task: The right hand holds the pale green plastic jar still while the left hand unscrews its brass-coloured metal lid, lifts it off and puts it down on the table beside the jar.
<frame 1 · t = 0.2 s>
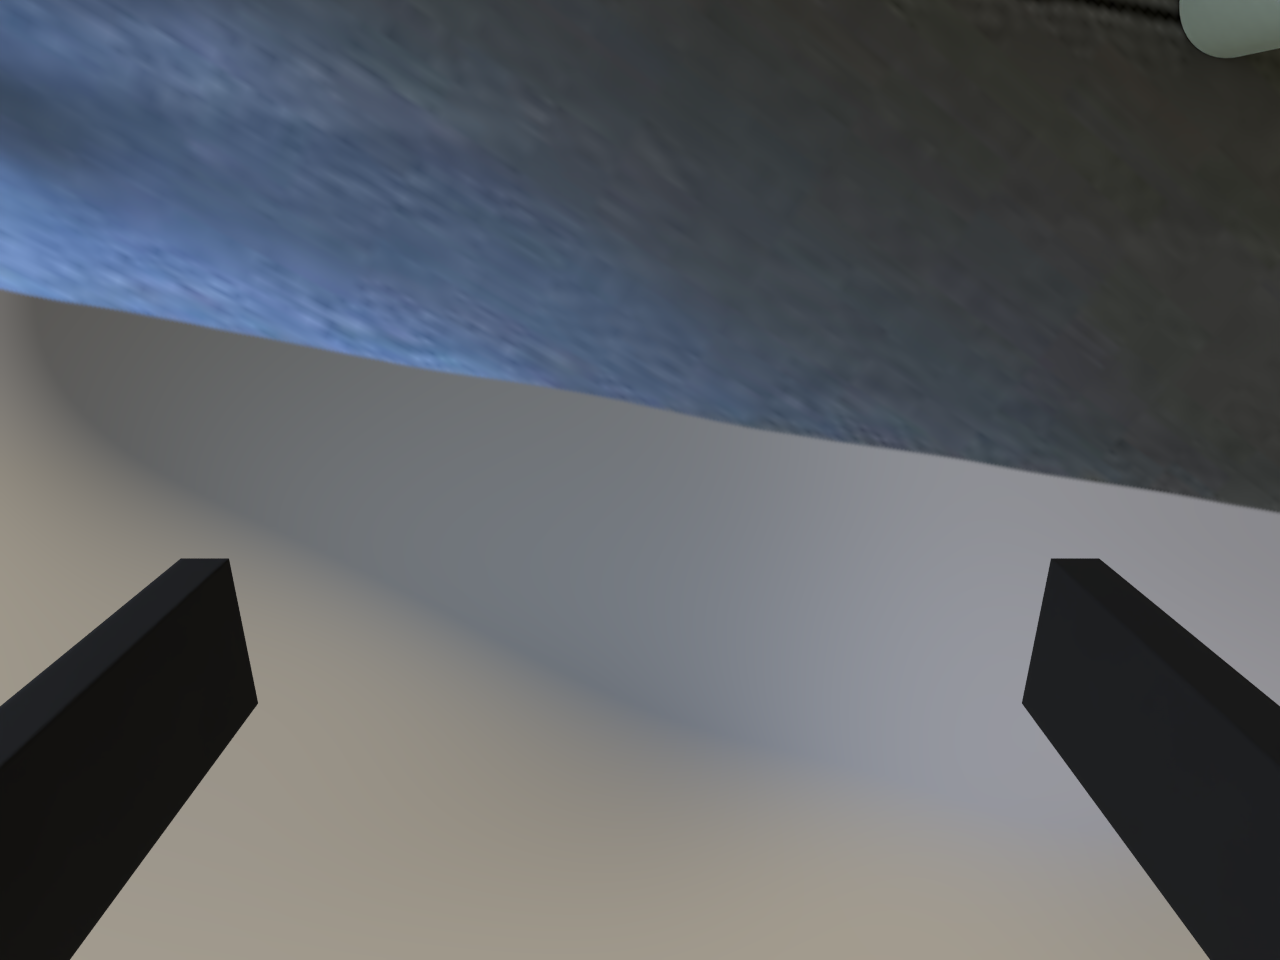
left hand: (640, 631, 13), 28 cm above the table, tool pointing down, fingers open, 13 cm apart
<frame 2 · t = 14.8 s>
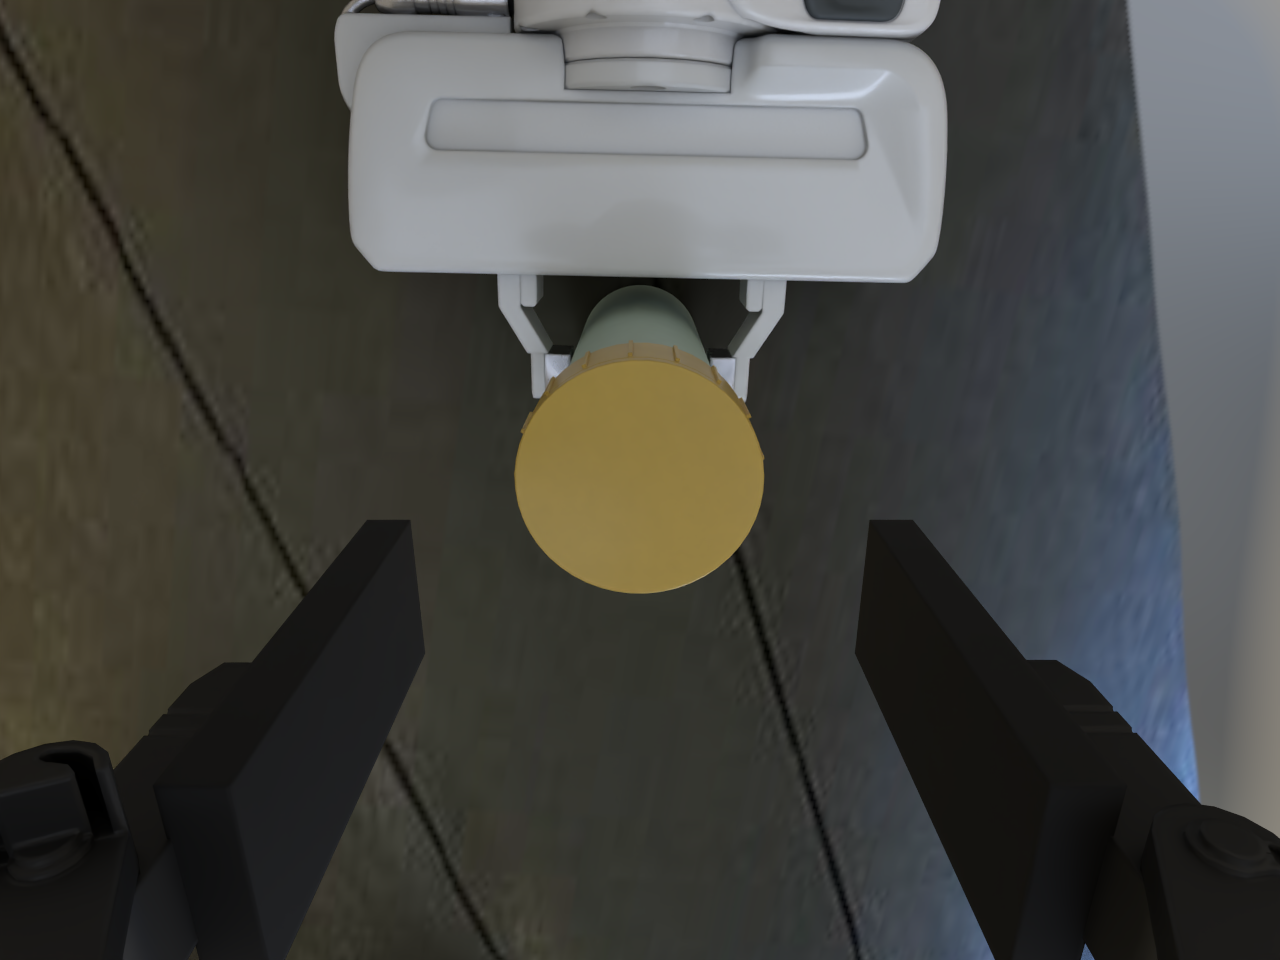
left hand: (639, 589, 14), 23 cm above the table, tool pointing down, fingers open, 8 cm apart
right hand: (640, 397, 31), fingers closed on jar, 5 cm apart
lid: (639, 478, 20), point 18 cm above the table, screwed on, not yet turned
jar: (639, 343, 36), on the table, touching right hand
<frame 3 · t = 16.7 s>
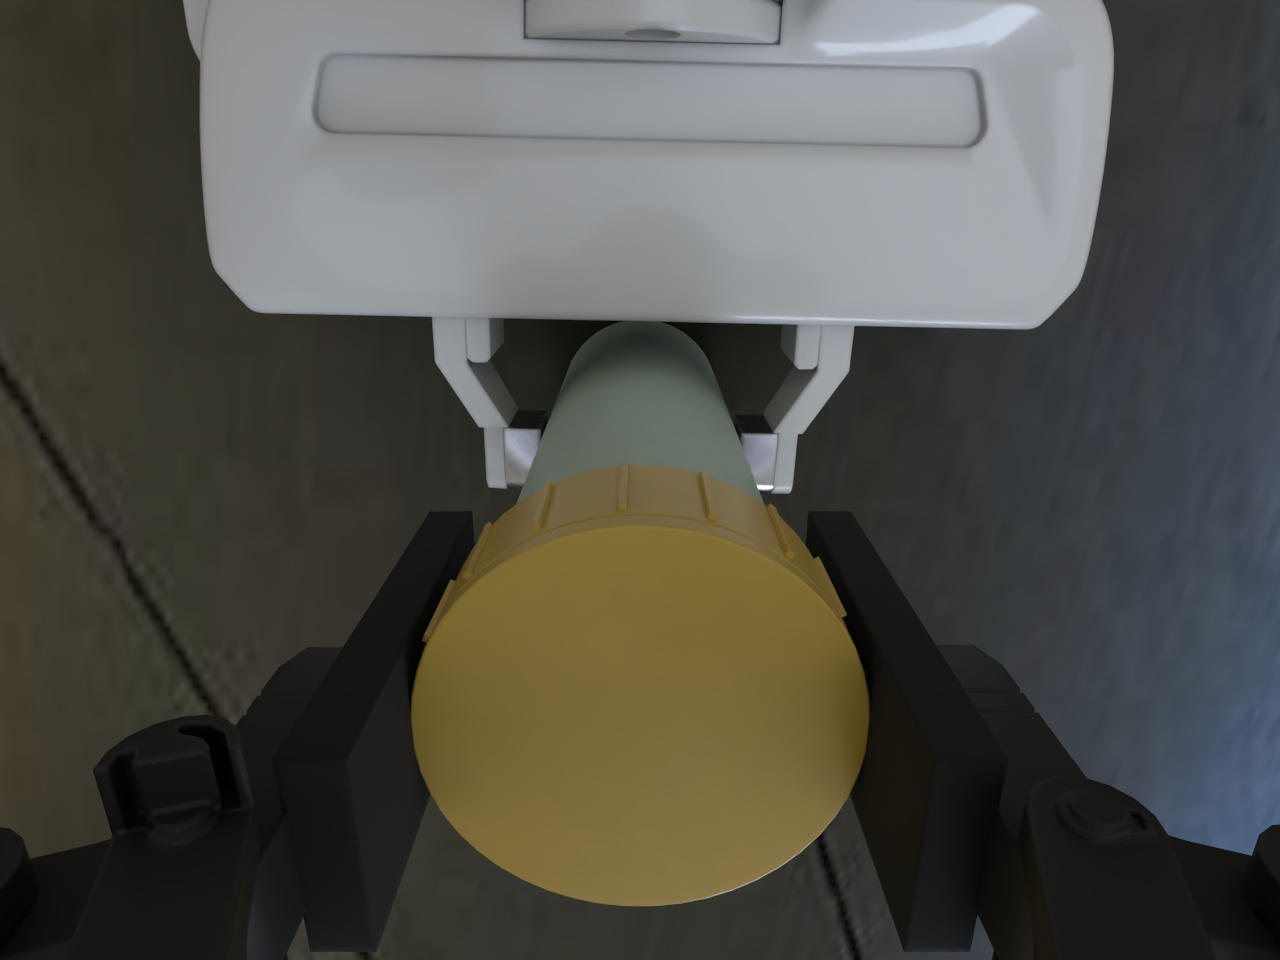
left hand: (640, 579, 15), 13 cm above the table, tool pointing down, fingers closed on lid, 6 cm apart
right hand: (641, 484, 22), fingers closed on jar, 5 cm apart
lid: (640, 719, 11), point 18 cm above the table, screwed on, not yet turned, touching left hand
jar: (640, 395, 27), on the table, touching right hand
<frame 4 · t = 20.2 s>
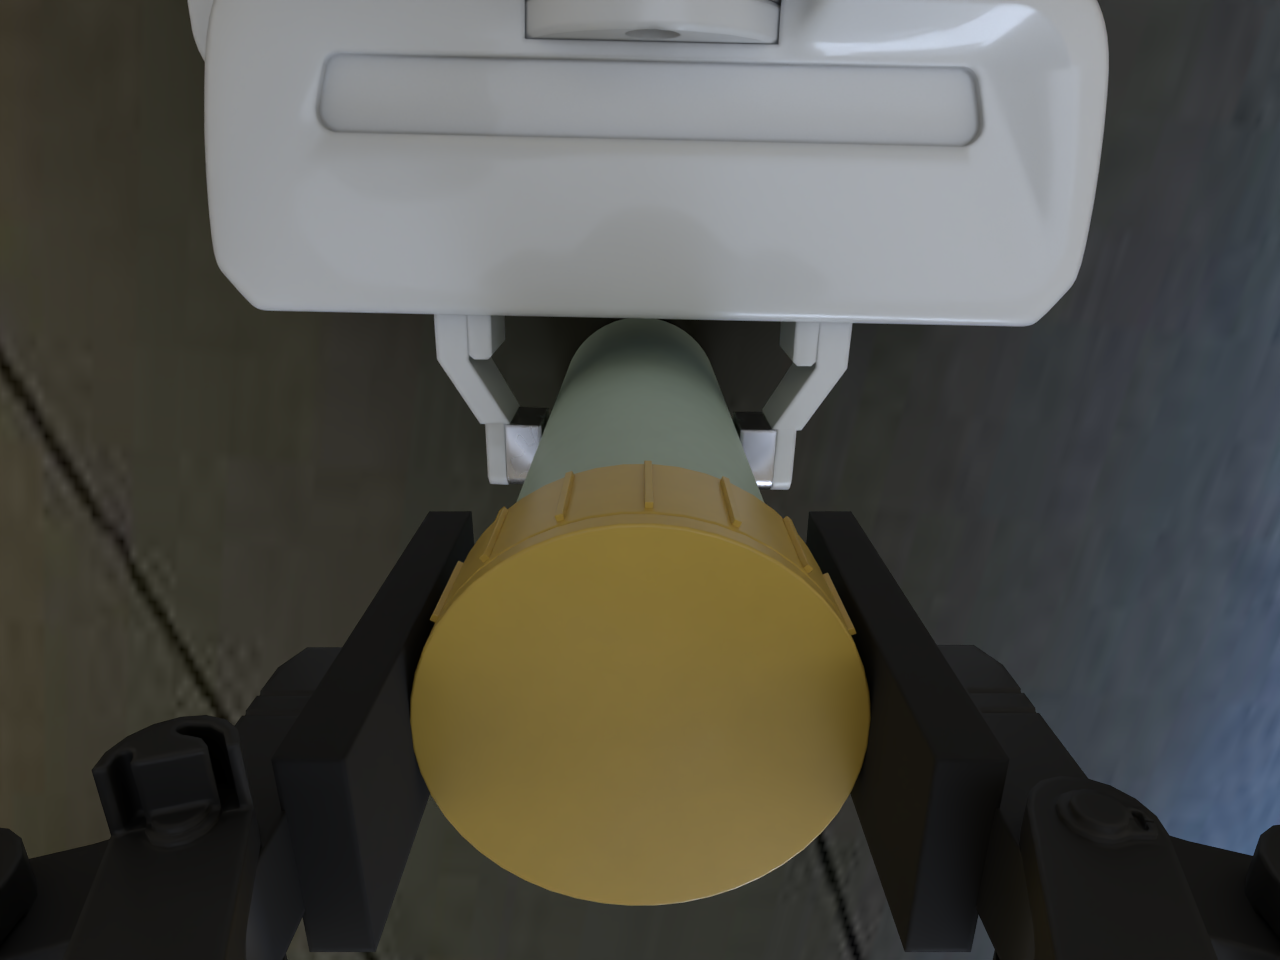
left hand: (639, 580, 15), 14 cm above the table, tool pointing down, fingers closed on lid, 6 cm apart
right hand: (641, 480, 22), fingers closed on jar, 5 cm apart
lid: (640, 718, 11), point 18 cm above the table, turned 121° so far, risen 0.2 cm, still on its thread, touching left hand
jar: (640, 392, 27), on the table, touching right hand
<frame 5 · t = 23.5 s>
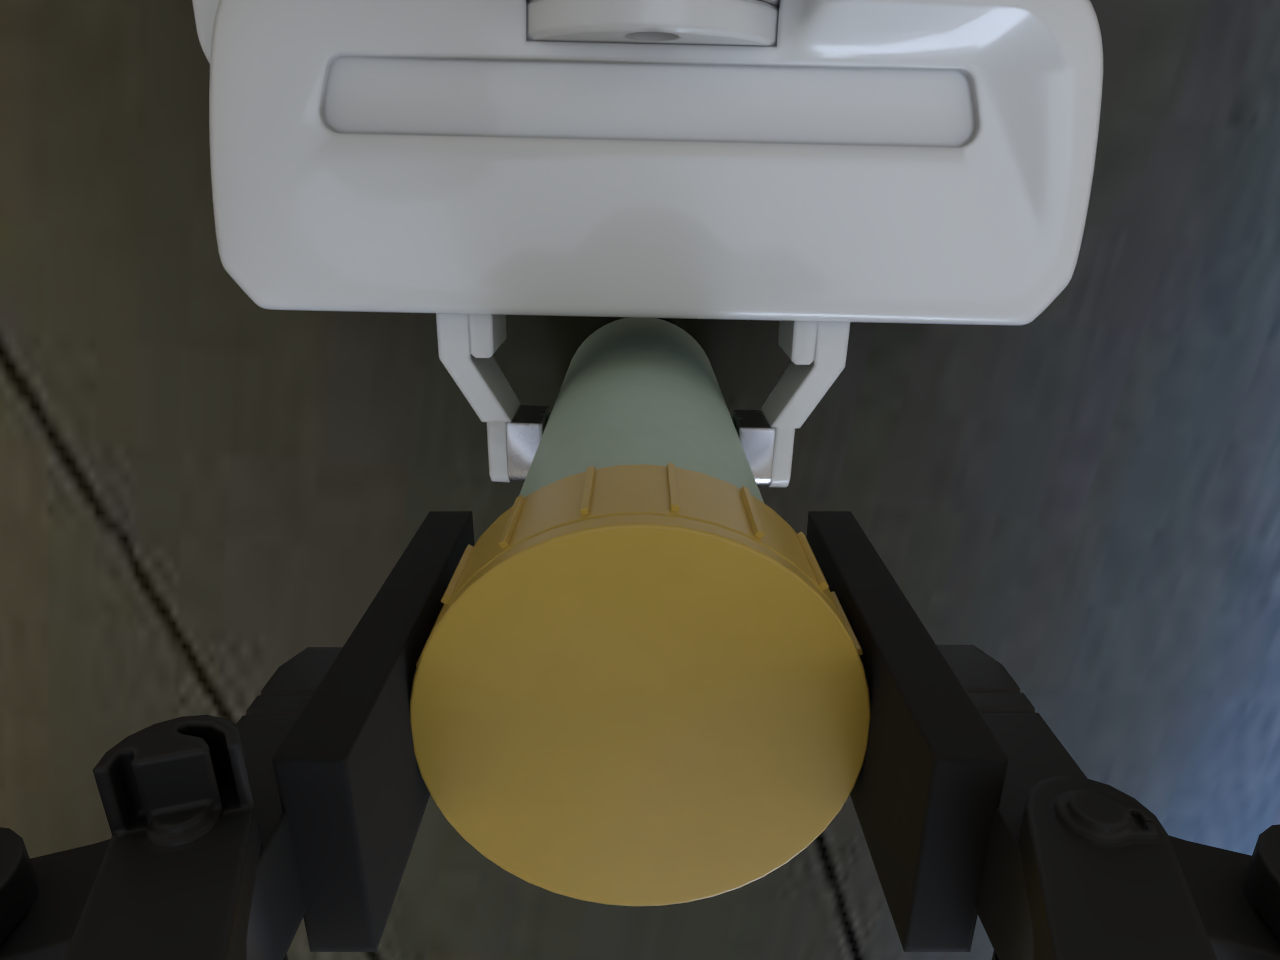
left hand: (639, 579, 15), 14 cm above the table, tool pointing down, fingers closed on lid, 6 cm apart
right hand: (641, 478, 22), fingers closed on jar, 5 cm apart
lid: (640, 718, 11), point 18 cm above the table, turned 242° so far, risen 0.4 cm, still on its thread, touching left hand
jar: (640, 391, 28), on the table, touching right hand
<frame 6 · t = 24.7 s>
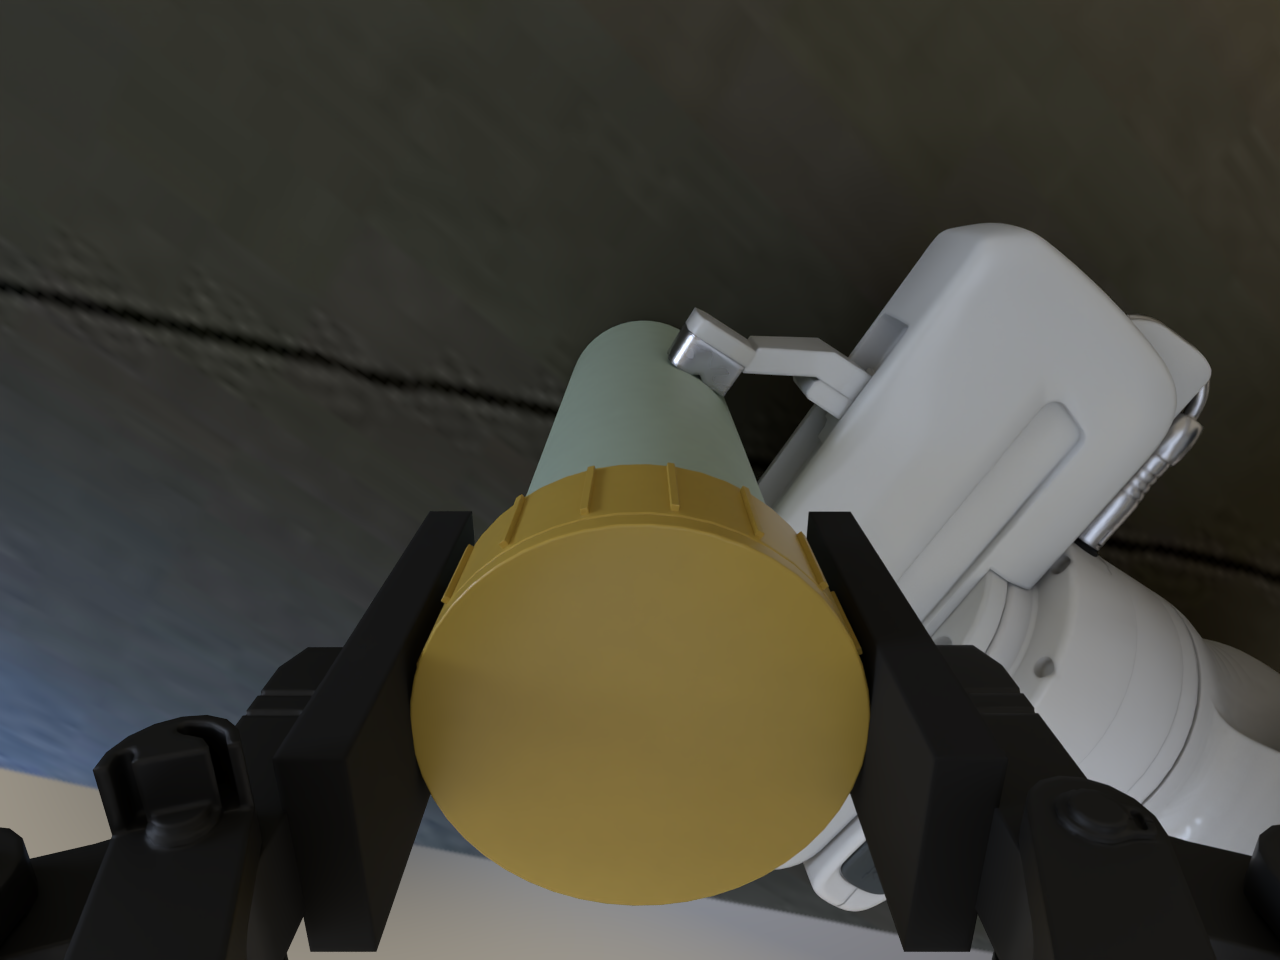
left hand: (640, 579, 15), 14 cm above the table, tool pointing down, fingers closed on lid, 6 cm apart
lid: (640, 718, 11), point 19 cm above the table, off its thread, touching left hand
jar: (643, 394, 28), on the table, touching right hand
when the left hand's fingers open (0 cm above the table, at t = 31.2 s): lid drops 2 cm, point 2 cm above the table.
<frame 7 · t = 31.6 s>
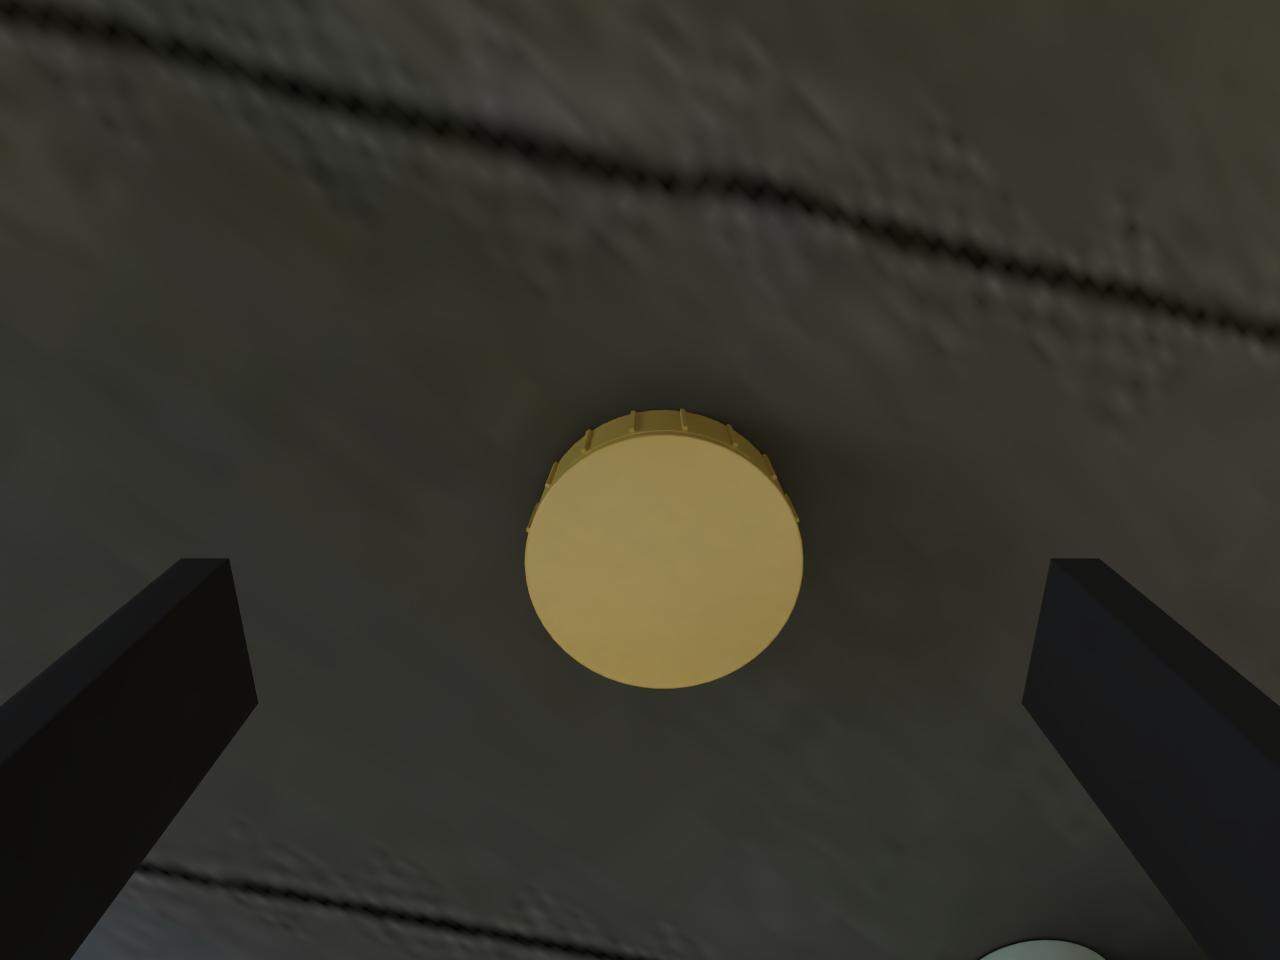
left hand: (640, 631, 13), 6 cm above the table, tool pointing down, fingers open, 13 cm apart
lid: (663, 562, 18), point 2 cm above the table, off its thread
when the right hand's fingers open (6 cm above the table, at t = 31.9 s): jar stays where it is, on the table.
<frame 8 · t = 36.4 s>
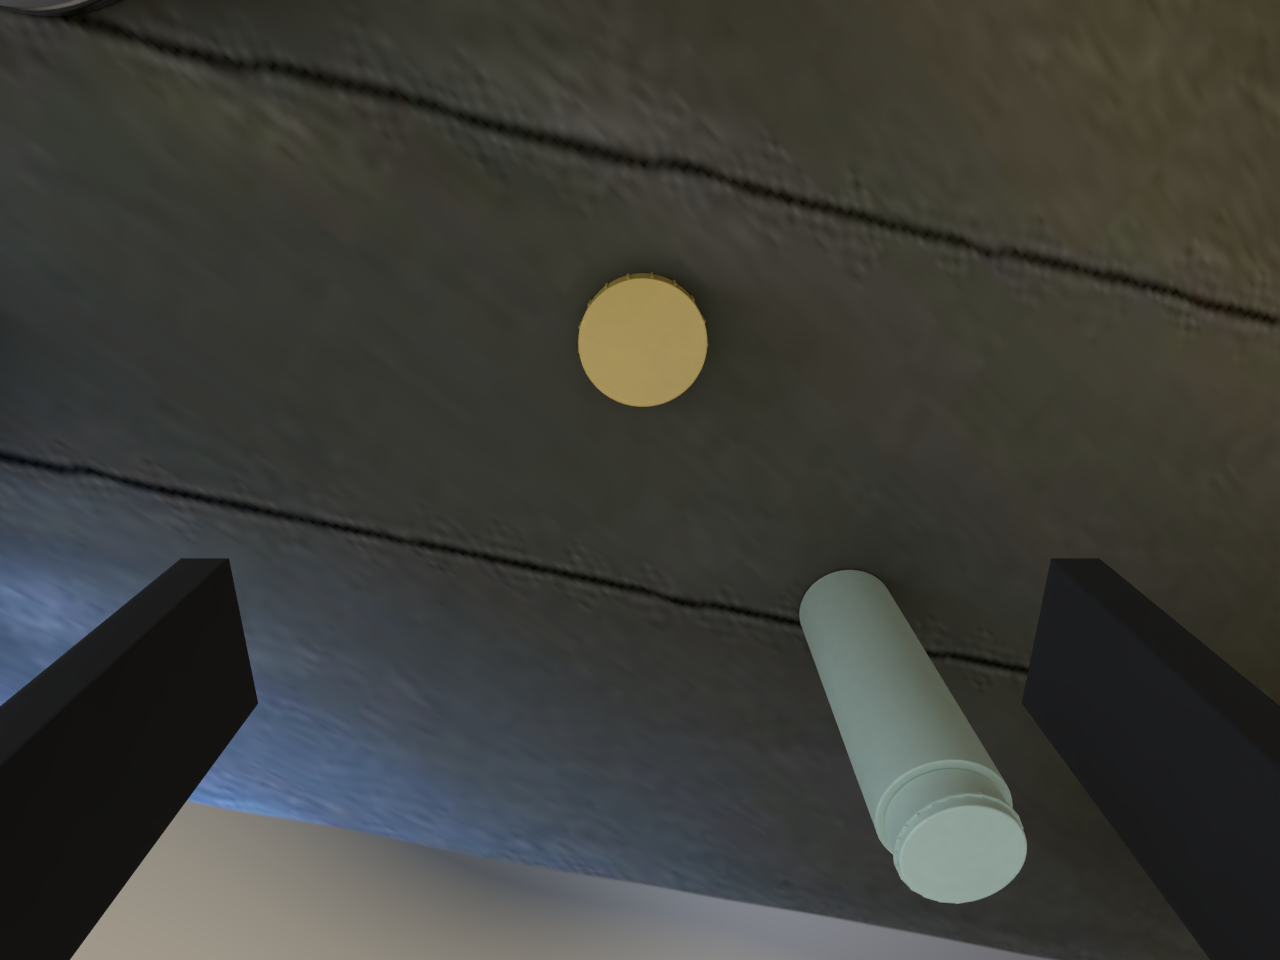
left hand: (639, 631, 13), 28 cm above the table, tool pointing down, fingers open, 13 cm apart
lid: (642, 342, 38), point 2 cm above the table, off its thread
jar: (845, 610, 45), on the table
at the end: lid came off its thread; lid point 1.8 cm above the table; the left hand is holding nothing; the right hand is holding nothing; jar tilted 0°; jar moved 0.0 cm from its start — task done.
